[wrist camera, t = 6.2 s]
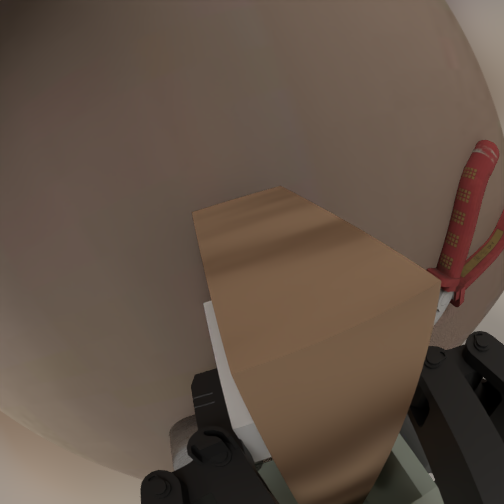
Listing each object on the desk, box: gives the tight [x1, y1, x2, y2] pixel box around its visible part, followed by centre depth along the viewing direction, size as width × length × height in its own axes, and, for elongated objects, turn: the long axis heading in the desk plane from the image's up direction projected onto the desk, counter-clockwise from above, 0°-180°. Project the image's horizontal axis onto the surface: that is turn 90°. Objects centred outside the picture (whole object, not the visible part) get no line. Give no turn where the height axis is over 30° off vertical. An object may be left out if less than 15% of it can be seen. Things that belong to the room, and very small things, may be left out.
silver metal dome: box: [169, 415, 263, 471], centre depth 19 cm, size 7×7×4 cm
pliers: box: [427, 140, 504, 326], centre depth 20 cm, size 12×20×3 cm, turn 143°
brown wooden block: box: [192, 186, 441, 504], centre depth 13 cm, size 22×4×9 cm, turn 13°
